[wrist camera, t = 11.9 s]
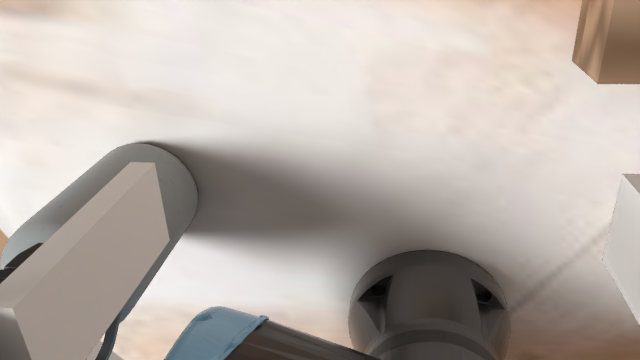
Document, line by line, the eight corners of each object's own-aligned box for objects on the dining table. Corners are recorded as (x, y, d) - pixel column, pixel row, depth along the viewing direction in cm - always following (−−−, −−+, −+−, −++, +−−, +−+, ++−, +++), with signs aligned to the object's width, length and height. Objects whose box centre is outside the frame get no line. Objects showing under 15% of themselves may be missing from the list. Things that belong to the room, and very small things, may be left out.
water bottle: (216, 164, 49) (22, 431, 24) (192, 247, 53) (9, 542, 28) (109, 124, 48) (-201, 352, 23) (94, 210, 53) (-177, 478, 28)
